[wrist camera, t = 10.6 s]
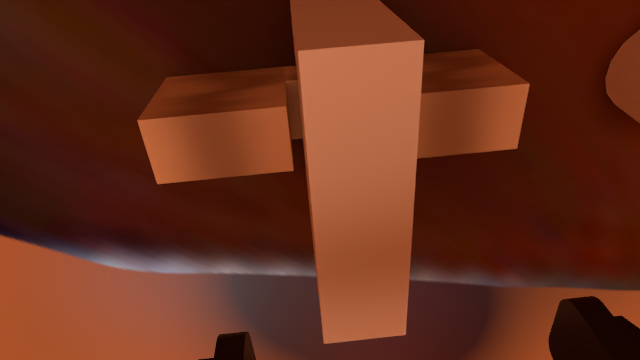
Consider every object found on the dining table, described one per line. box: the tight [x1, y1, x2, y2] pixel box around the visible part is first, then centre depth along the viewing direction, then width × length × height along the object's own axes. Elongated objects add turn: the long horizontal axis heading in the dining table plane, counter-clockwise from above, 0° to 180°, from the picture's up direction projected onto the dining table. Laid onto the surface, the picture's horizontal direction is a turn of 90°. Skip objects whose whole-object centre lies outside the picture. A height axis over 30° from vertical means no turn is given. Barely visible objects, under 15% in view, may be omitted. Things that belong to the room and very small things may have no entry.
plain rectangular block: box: [290, 0, 424, 344], centre depth 20 cm, size 3×12×13 cm, turn 4°
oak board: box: [137, 49, 530, 184], centre depth 23 cm, size 18×3×6 cm, turn 94°
